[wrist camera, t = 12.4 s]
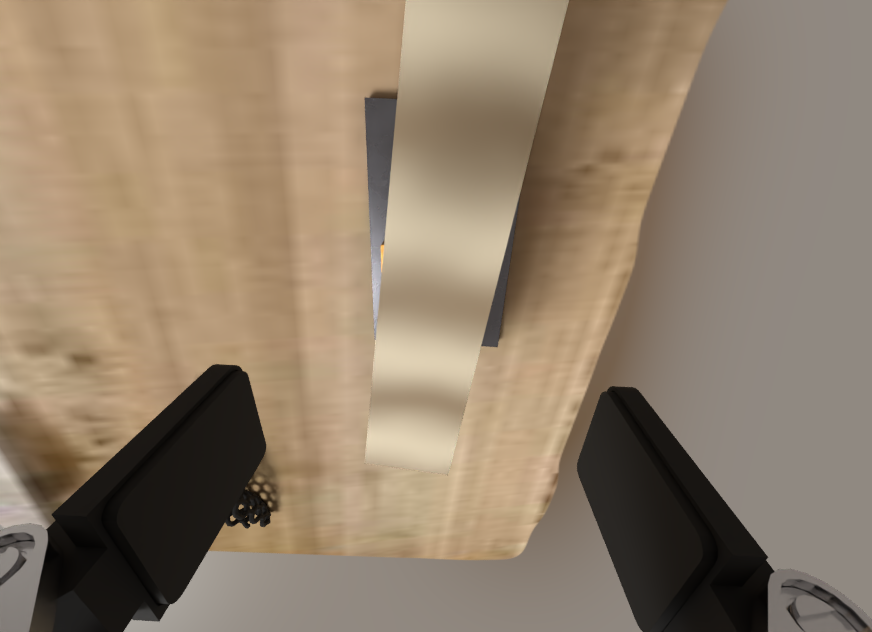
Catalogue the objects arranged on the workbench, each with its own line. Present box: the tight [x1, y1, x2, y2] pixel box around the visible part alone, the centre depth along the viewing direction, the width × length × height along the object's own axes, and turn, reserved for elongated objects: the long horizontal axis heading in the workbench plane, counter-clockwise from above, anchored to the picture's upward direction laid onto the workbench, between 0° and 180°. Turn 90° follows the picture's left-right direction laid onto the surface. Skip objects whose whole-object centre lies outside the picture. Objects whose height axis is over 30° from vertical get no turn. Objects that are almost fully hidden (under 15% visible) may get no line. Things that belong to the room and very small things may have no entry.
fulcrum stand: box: [365, 98, 521, 347], centre depth 26 cm, size 20×12×7 cm, turn 177°
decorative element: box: [225, 489, 271, 528], centre depth 40 cm, size 22×5×6 cm, turn 7°
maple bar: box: [365, 0, 569, 475], centre depth 20 cm, size 24×6×7 cm, turn 171°
